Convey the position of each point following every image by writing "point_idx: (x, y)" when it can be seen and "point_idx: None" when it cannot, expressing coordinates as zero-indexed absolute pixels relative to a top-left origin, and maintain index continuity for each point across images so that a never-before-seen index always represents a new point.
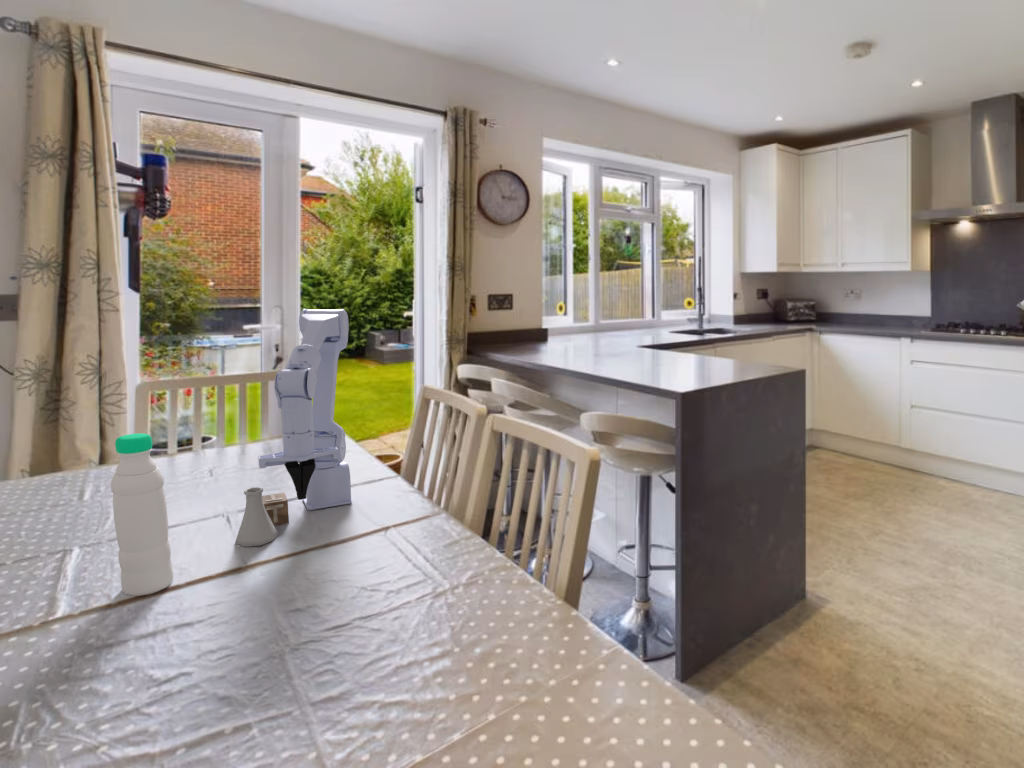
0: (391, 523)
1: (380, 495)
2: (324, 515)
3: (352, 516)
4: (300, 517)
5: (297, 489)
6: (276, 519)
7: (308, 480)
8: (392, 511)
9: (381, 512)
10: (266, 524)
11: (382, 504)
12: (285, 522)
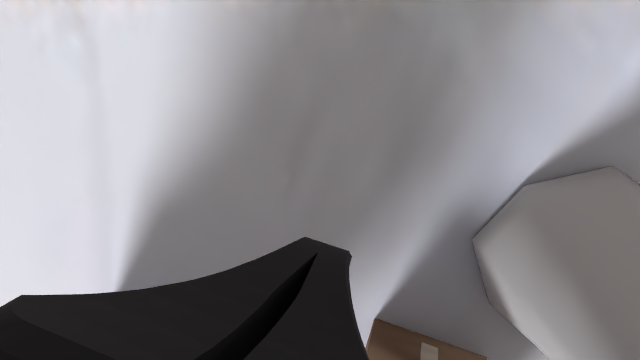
0: (37, 4)
1: (10, 293)
2: None
3: (144, 190)
4: None
5: (343, 285)
6: (426, 351)
7: (209, 280)
8: (7, 123)
9: (43, 145)
10: (574, 243)
11: (22, 214)
12: (388, 325)
